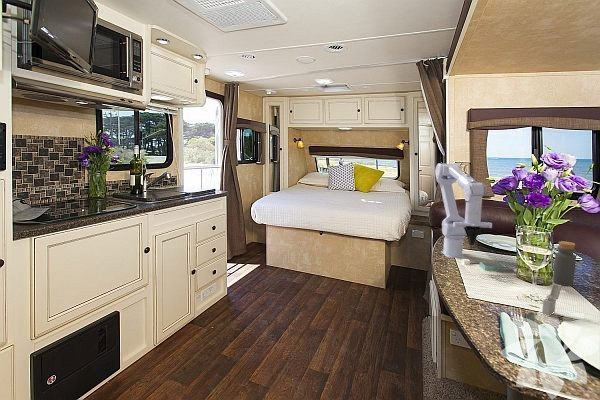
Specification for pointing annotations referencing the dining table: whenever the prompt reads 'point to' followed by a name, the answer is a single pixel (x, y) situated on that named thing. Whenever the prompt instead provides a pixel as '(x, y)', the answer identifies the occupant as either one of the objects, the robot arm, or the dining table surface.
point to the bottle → (564, 264)
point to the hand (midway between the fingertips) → (471, 244)
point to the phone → (491, 266)
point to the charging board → (476, 269)
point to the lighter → (551, 300)
